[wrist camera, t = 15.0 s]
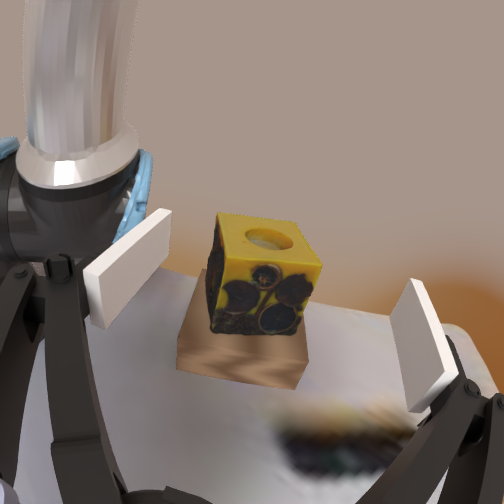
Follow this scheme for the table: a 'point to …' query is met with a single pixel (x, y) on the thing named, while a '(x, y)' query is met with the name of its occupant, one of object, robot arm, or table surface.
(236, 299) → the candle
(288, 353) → the wooden box
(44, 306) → the robot arm
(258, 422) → the table surface
